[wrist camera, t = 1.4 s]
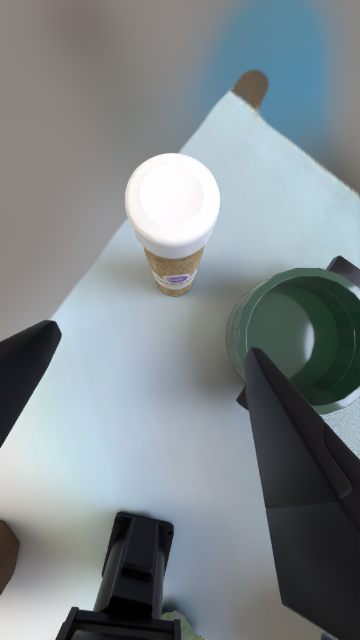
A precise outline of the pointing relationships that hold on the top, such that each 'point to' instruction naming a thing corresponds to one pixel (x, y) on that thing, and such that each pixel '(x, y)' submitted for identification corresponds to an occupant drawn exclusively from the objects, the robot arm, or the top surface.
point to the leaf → (182, 625)
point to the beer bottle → (7, 554)
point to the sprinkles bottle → (172, 216)
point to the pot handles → (336, 266)
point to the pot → (303, 333)
